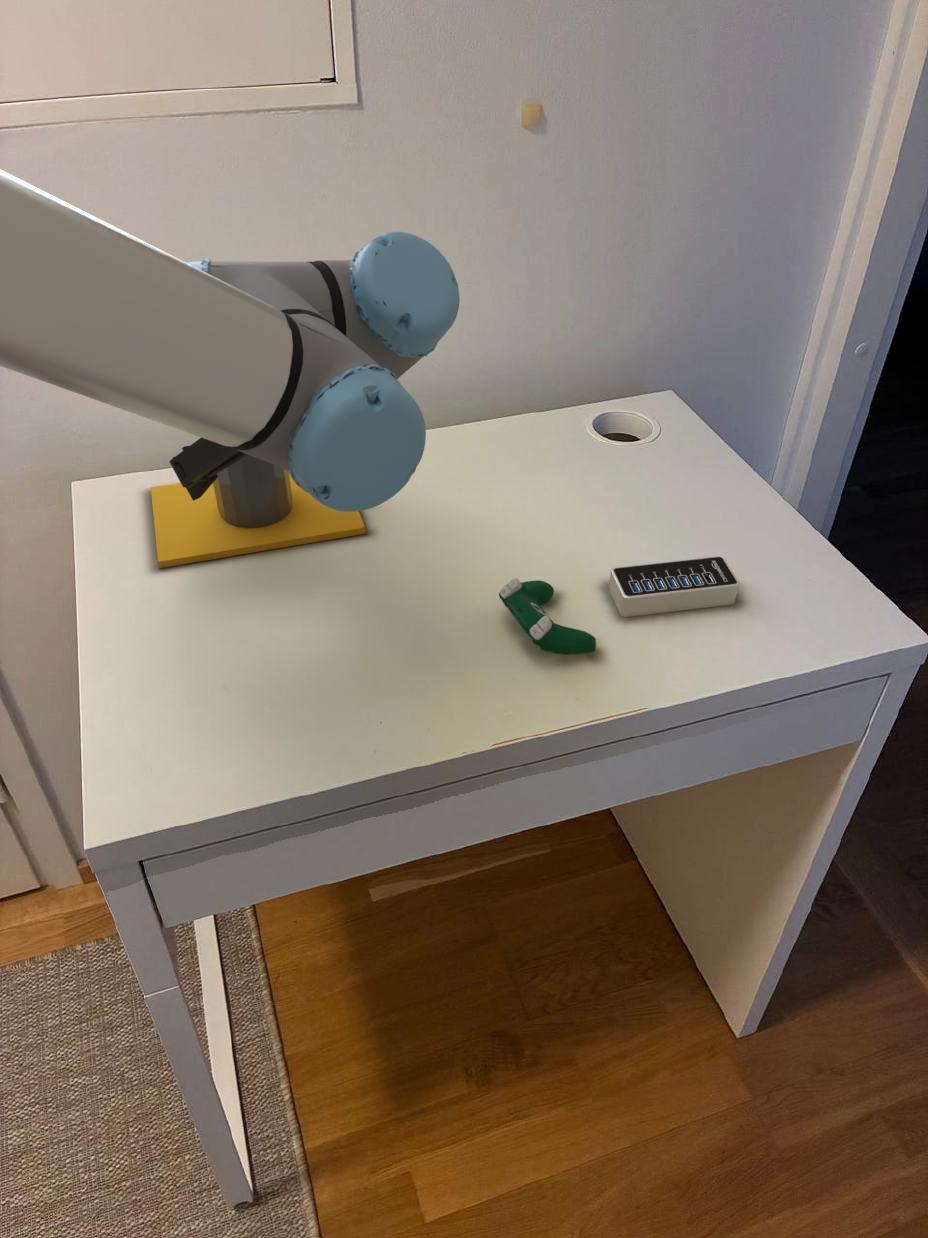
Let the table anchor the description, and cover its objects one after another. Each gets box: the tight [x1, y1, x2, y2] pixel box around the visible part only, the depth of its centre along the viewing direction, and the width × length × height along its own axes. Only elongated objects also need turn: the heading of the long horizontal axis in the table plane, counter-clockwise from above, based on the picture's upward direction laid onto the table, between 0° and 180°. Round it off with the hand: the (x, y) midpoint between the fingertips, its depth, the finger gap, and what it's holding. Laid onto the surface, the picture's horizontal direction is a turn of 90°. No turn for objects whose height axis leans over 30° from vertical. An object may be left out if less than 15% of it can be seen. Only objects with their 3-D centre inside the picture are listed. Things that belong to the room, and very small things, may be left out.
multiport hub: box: [608, 555, 740, 618], centre depth 88 cm, size 4×11×2 cm, turn 100°
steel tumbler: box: [213, 455, 292, 528], centre depth 94 cm, size 7×7×10 cm
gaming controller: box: [498, 577, 597, 656], centre depth 84 cm, size 9×4×6 cm
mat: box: [150, 473, 367, 569], centre depth 98 cm, size 20×13×1 cm, turn 107°
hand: (251, 460), depth 93 cm, fingers open, 13 cm apart
